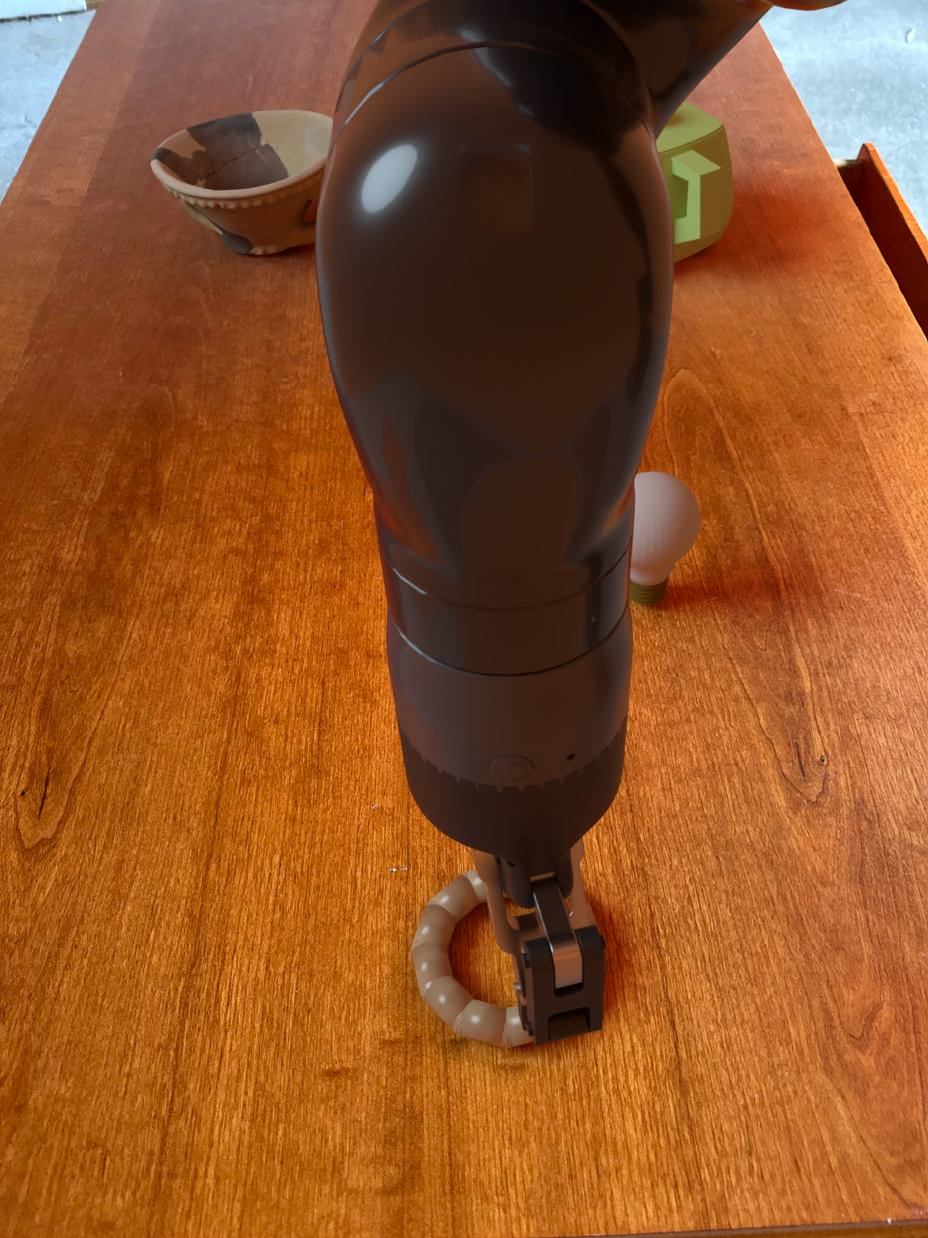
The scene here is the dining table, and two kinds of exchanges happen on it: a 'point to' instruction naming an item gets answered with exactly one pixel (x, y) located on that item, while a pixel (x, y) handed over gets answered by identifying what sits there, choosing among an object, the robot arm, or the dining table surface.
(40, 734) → the dining table surface
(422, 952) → the beige segmented ring
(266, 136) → the bowl
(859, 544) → the dining table surface
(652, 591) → the light bulb
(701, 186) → the teapot
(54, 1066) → the dining table surface
